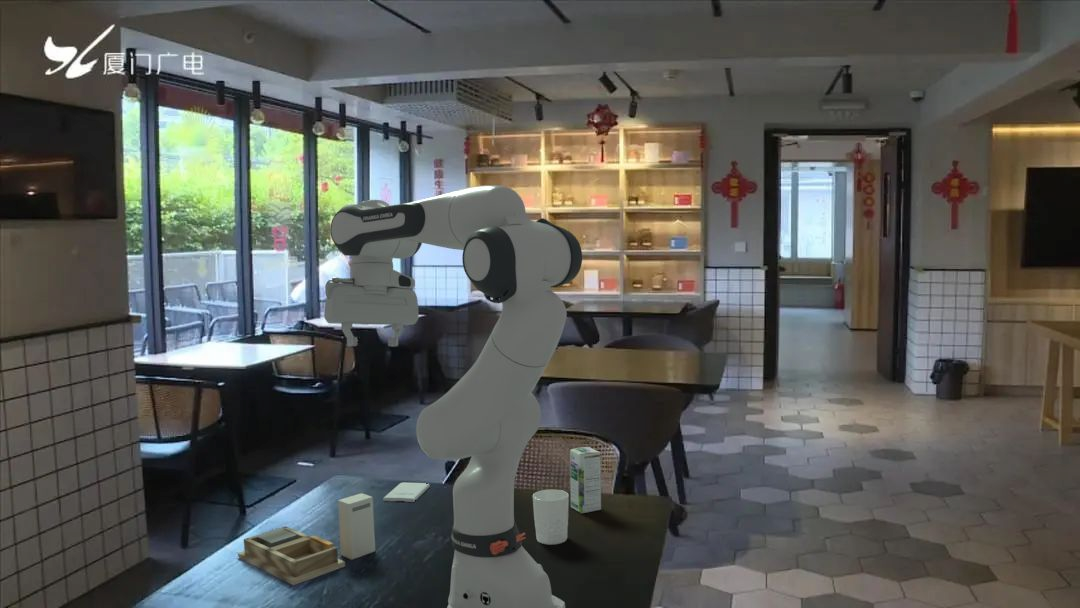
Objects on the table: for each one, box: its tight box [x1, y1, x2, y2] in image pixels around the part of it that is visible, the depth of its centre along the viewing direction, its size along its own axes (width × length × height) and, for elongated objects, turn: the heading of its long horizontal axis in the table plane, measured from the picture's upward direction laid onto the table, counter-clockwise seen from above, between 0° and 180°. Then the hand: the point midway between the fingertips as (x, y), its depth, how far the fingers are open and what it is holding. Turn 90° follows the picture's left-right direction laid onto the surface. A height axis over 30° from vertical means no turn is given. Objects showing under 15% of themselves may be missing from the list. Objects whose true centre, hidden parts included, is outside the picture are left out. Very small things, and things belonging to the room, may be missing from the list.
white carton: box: [337, 492, 376, 560], centre depth 184 cm, size 4×6×12 cm
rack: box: [237, 526, 346, 586], centre depth 181 cm, size 22×12×5 cm, turn 47°
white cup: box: [532, 489, 570, 546], centre depth 189 cm, size 8×8×10 cm
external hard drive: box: [382, 481, 431, 503], centre depth 225 cm, size 2×8×12 cm
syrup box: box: [569, 446, 602, 514], centre depth 208 cm, size 6×6×14 cm
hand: (373, 346), depth 178 cm, fingers open, 8 cm apart
